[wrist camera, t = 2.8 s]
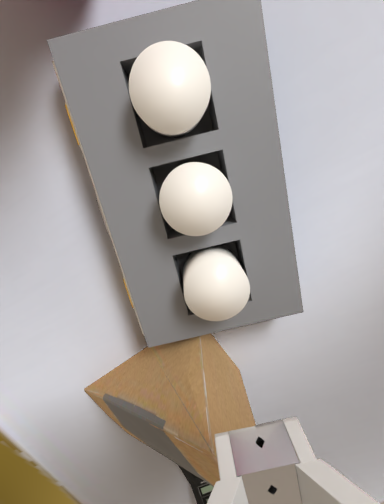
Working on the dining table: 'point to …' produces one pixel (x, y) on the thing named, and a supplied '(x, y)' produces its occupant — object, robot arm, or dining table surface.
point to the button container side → (214, 284)
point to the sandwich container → (177, 401)
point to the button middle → (195, 199)
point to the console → (185, 160)
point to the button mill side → (170, 88)
